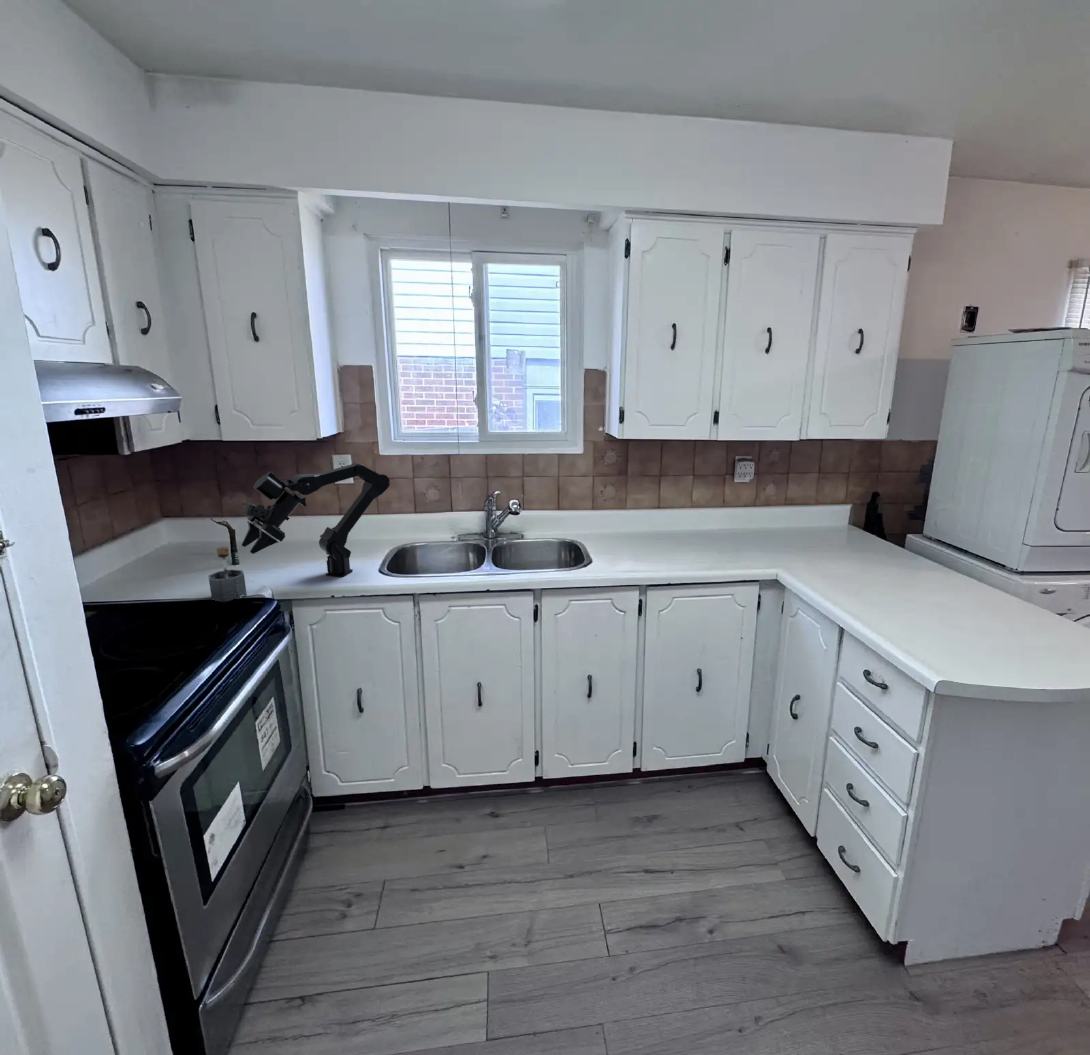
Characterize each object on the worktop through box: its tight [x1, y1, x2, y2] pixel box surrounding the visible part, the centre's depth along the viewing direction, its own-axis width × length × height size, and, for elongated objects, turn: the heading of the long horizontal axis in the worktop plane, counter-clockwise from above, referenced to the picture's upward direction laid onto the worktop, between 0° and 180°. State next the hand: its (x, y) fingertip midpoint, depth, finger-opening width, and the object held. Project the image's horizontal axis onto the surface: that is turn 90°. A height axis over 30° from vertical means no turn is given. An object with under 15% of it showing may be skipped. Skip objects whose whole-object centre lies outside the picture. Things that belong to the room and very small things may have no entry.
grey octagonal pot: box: [208, 569, 247, 604], centre depth 166 cm, size 9×9×7 cm
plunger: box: [216, 546, 236, 580], centre depth 164 cm, size 7×7×10 cm
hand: (247, 549), depth 167 cm, fingers open, 9 cm apart
